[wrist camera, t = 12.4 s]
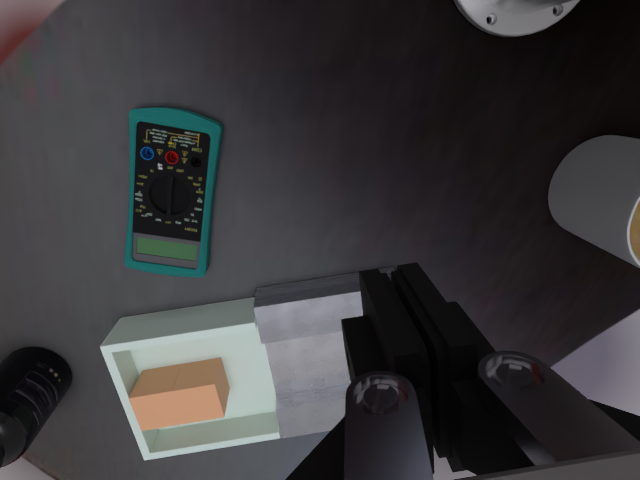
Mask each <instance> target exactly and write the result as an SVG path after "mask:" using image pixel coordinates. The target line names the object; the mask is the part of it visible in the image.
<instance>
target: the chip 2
mask: <svg viewBox="0 0 640 480" xmlns="http://www.w3.org/2000/svg"><path fill="white" fill-rule="evenodd" d="M229 390H230V387H229V384H228V380H227V377H226V373H225V370H224V366H223V363H222V359H221V357H220V358H214V359H208V360H202V361H196V362H190V363H184V364H182V365H181V368H180V370H179V373H178V376H177V378H176V381H175V384H174V386H173V389H172V394H173V397H174V400H175V402H176V405H177V408H178V411H179V414H180V417H181V420H182V422H183V424H188V423H193V422H199V421H205V420H211V419H216V418H222V417H225V412H226V406H227V401H228V395H229Z"/></svg>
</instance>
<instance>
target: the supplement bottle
mask: <svg viewBox="0 0 640 480" xmlns="http://www.w3.org/2000/svg"><path fill="white" fill-rule="evenodd" d="M70 383H71V375H70V371H69V368H68V367H67V365H66V364H65V362H64V361H63V360H62V359H61V358H59V357H58V356H57V355H55V354H53V353H51V352H49V351H46V350H42V349H34V348H30V349H22V350H19V351H16V352H14V353H12V354H10V355H9V356H8V357H6V358H5V359H4V360H3V361H2V362H1V363H0V467H4V466H6V465H9V464H11V463H12V462H14V461H16V460H17V459H19V458H20V457H21V456H22V455H23V454H24V453H25V452H26V450H27V449H28V448H29V446H30V445H31V443H32V442H33V440H34V439H35V437H36V436H37V435H38V433H39V432H40V430H41V429H42V427H43V426H44V424H45V423H46V421H47V420H48V419H49V417H50V416H51V414H52V413H53V411H54V410H55V408H56V407H57V405H58V404H59V403H60V401H61V400H62V398H63V397H64V395H65V394H66V392H67V390H68V389H69V386H70Z"/></svg>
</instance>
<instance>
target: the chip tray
mask: <svg viewBox="0 0 640 480" xmlns="http://www.w3.org/2000/svg"><path fill="white" fill-rule="evenodd" d="M254 300H255V297H251V298H245V299H238V300H232V301H225V302H219V303H212V304H206V305H199V306H193V307H186V308H180V309H173V310H167V311H160V312H154V313H147V314H141V315H134V316H128V317H121V318H120V319H119V320H118V322H117V323H116V325H115V326H114V327H113V329H112V330H111V332H110V333H109V334H108V336H107V337H106V339H105V340H104V341H103V343H102V344H101V346H100V348H101V351H102V354H103V356H104V359H105V361H106V364H107V366H108V369H109V371H110V374H111V377H112V379H113V382H114V384H115V387H116V389H117V392H118V394H119V397H120V400H121V402H122V405H123V407H124V410H125V412H126V415H127V417H128V420H129V423H130V425H131V428H132V430H133V433H134V435H135V438H136V440H137V443H138V445H139V448H140V451H141V453H142V456H143V458H144V460H150V459H156V458H162V457H168V456H174V455H180V454H187V453H193V452H199V451H205V450H211V449H217V448H223V447H229V446H236V445H242V444H248V443H254V442H260V441H266V440H272V439H278V438H280V427H279V423H278V418H277V413H276V393H275V388H274V384H273V379H272V374H271V370H270V365H269V360H268V356H267V351H266V346H265V344H261V340H260V336H259V331H258V327H257V322H256V318H255V313H254V308H253V307H254ZM220 357H221V359H222V363H223V366H224V370H225V373H226V377H227V380H228V384H229V387H230V390H229V395H228V401H227V406H226V412H225V417H222V418H216V419H211V420H205V421H199V422H193V423H188V424H180V425H174V426H168V427H163V428H157V429H151V430H145V431H141V429H140V426H139V424H138V421H137V419H136V416H135V414H134V411H133V409H132V406H131V404H130V401H129V399H128V398H129V396H130V394H131V392H132V390H133V388H134V386H135V384H136V382H137V380H138V378H139V376H140V374H141V372H142V370H147V369H153V368H159V367H165V366H171V365H176V364H184V363H190V362H196V361H202V360H208V359H214V358H220Z"/></svg>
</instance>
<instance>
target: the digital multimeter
mask: <svg viewBox="0 0 640 480" xmlns="http://www.w3.org/2000/svg"><path fill="white" fill-rule="evenodd" d="M222 135H223V125H222V124H221V123H219V122H217V121H215V120H212V119H210V118H208V117H206V116H203V115H201V114H198V113H195V112H192V111H189V110H184V109H179V108H174V107H150V108H137V109H132V110H131V111H130V112H129V141H130V187H129V207H128V225H127V236H126V247H125V259H124V263H125V266H126V267H128V268H132V269H136V270H141V271H145V272H151V273H156V274H163V275H171V276H183V277H203V276H205V273H206V271H207V269H208V266H209V252H210V234H211V221H212V210H213V199H214V190H215V183H216V175H217V168H218V160H219V154H220V147H221V141H222ZM209 149H210V150H209ZM208 159H209V161H208ZM207 169H208V171H207ZM178 176H179V177H178ZM154 177H155V178H154ZM206 179H207V180H206ZM148 184H149V185H148ZM146 191H147V192H146ZM191 191H192V192H191ZM192 199H193V200H192ZM203 210H204V211H203ZM180 215H181V216H180ZM177 216H178V217H177ZM202 220H203V221H202ZM201 230H202V231H201Z"/></svg>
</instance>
